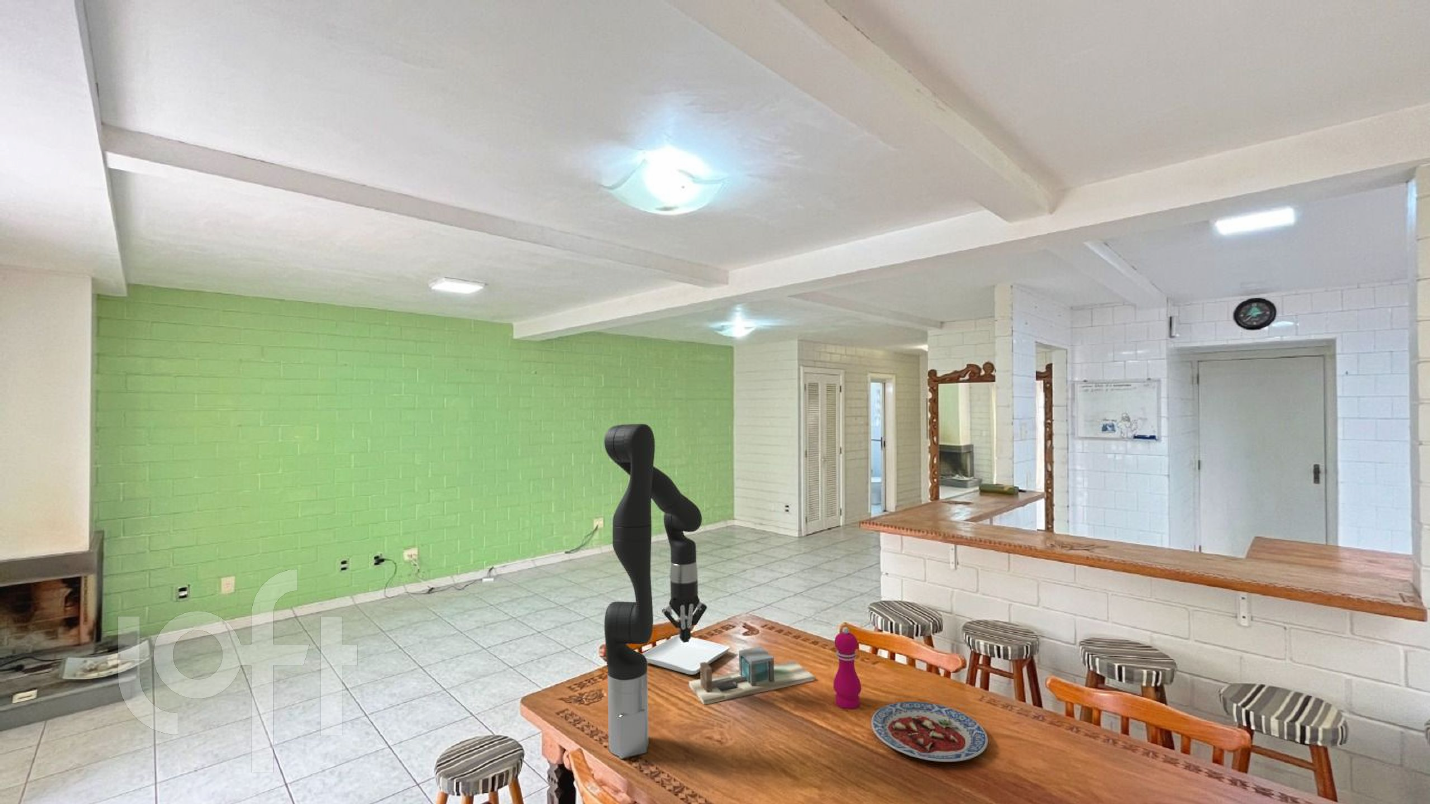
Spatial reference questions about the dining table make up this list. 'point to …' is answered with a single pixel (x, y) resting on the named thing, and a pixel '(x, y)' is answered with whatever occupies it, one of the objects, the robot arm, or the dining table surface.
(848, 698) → the pepper mill
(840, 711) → the dining table surface
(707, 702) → the deck tunnel
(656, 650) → the salad plate
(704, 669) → the sled
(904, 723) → the ceramic plate
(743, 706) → the dining table surface
